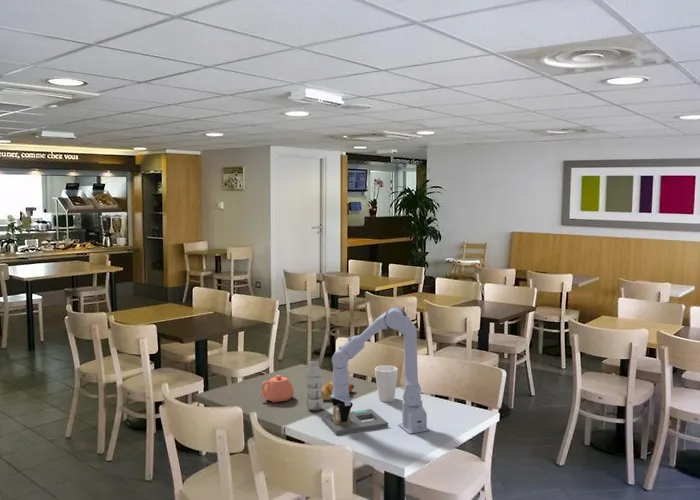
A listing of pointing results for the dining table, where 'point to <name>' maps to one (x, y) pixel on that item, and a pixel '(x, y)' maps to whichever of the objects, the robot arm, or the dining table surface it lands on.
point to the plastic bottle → (314, 385)
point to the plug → (338, 417)
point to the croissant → (328, 390)
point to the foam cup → (386, 382)
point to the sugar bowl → (277, 389)
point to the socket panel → (356, 422)
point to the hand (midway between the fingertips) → (341, 418)
